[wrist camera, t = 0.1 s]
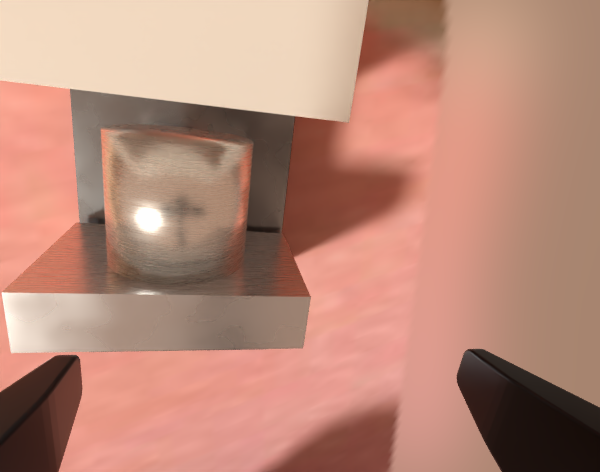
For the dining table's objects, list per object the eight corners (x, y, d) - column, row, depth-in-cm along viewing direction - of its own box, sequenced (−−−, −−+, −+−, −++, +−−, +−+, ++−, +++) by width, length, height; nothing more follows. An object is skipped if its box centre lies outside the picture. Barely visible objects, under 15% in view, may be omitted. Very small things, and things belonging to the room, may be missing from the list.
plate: (267, 345, 26) (268, 349, 26) (91, 347, 24) (89, 351, 23) (294, 107, 21) (295, 108, 21) (72, 79, 19) (69, 79, 18)
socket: (292, 107, 21) (348, 122, 12) (74, 79, 19) (-67, 72, 9) (304, 3, 19) (380, -73, 10) (66, -42, 17) (-115, -194, 8)
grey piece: (278, 271, 23) (303, 348, 16) (79, 265, 21) (11, 352, 14) (294, 137, 21) (331, 162, 14) (67, 113, 18) (-24, 128, 11)
